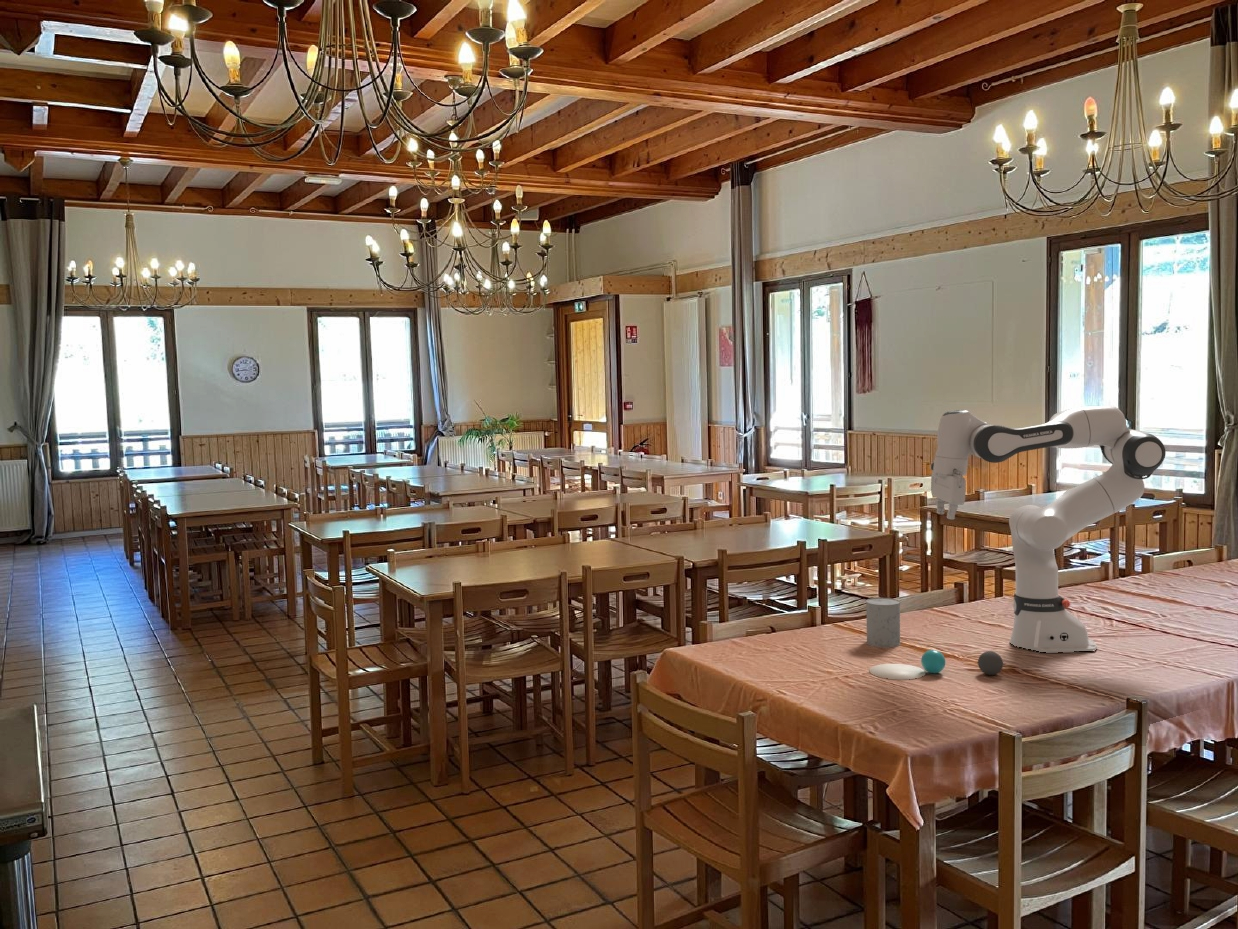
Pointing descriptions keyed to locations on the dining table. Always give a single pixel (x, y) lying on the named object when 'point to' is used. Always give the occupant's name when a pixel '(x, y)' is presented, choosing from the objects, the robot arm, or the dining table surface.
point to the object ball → (933, 661)
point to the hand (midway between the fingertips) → (945, 516)
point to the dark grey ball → (990, 663)
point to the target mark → (897, 671)
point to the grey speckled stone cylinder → (883, 622)
